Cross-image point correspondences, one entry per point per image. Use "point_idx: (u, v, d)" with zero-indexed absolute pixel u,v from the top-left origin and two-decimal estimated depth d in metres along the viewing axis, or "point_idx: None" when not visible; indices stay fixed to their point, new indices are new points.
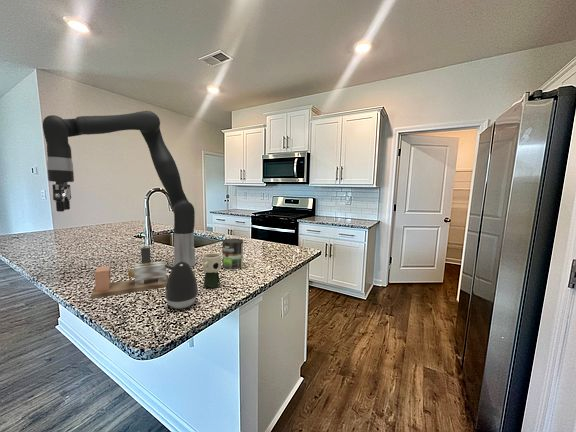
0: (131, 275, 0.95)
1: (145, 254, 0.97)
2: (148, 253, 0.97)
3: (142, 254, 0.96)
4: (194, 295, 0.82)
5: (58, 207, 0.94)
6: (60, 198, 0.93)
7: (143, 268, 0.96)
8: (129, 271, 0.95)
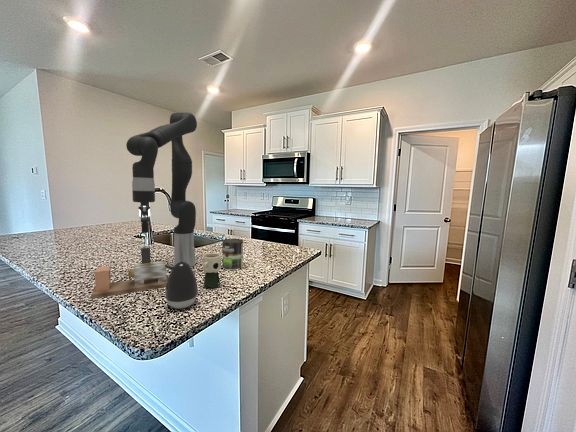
0: (131, 275, 0.95)
1: (145, 254, 0.97)
2: (148, 253, 0.97)
3: (142, 254, 0.96)
4: (194, 295, 0.82)
5: (144, 229, 0.92)
6: (147, 220, 0.91)
7: (143, 268, 0.96)
8: (129, 271, 0.95)
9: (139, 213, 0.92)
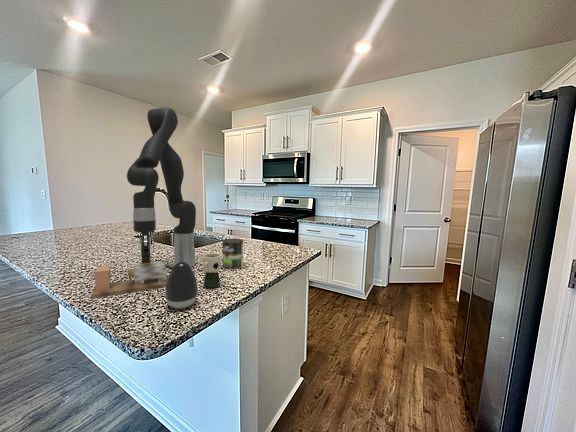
0: (131, 275, 0.95)
1: None
2: None
3: (142, 254, 0.96)
4: (194, 295, 0.82)
5: (145, 259, 0.96)
6: (148, 251, 0.95)
7: (143, 268, 0.96)
8: (129, 271, 0.95)
9: (140, 244, 0.95)
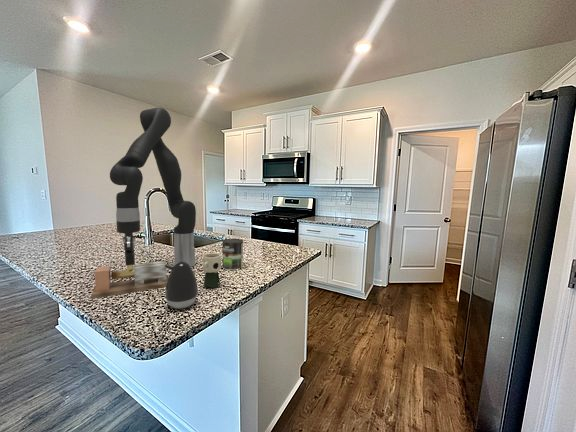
0: (114, 277, 0.92)
1: None
2: None
3: None
4: (194, 295, 0.82)
5: (128, 261, 0.93)
6: (131, 253, 0.92)
7: (143, 268, 0.96)
8: (112, 273, 0.92)
9: (124, 246, 0.92)
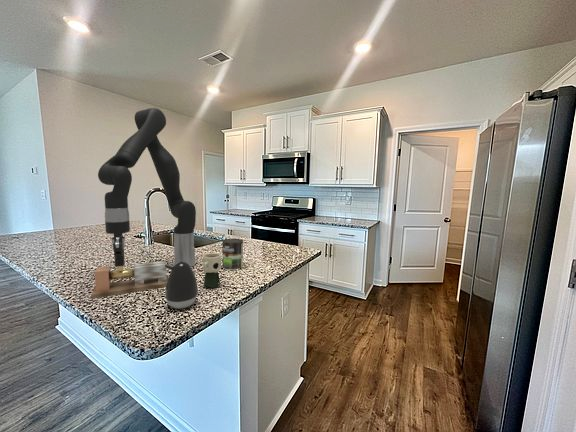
0: None
1: None
2: None
3: (115, 257, 0.92)
4: (194, 295, 0.82)
5: (118, 262, 0.91)
6: (121, 254, 0.90)
7: (143, 268, 0.96)
8: None
9: (113, 247, 0.90)
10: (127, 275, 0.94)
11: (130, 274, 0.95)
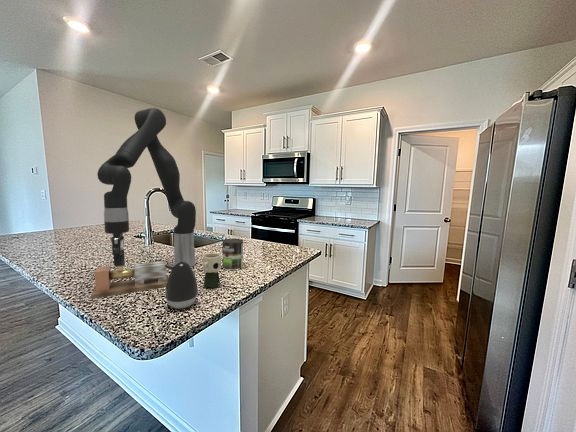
0: None
1: None
2: (122, 255, 0.93)
3: None
4: (194, 295, 0.82)
5: (116, 261, 0.89)
6: (119, 252, 0.87)
7: (143, 268, 0.96)
8: None
9: (111, 245, 0.89)
10: (127, 275, 0.94)
11: (130, 274, 0.95)
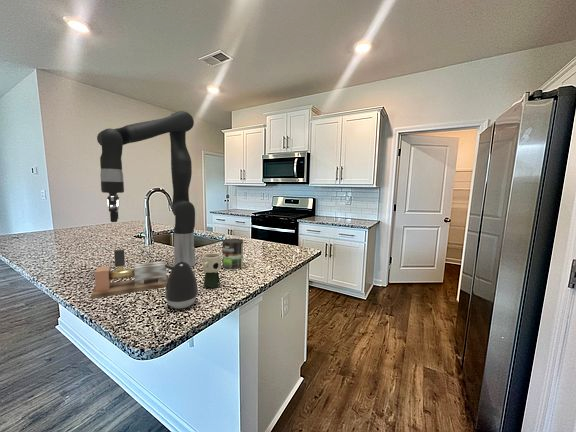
0: None
1: (119, 257, 0.93)
2: (122, 255, 0.93)
3: (115, 257, 0.92)
4: (194, 295, 0.82)
5: (112, 218, 0.96)
6: (115, 209, 0.95)
7: (143, 268, 0.96)
8: None
9: (108, 203, 0.96)
10: (127, 275, 0.94)
11: (130, 274, 0.95)
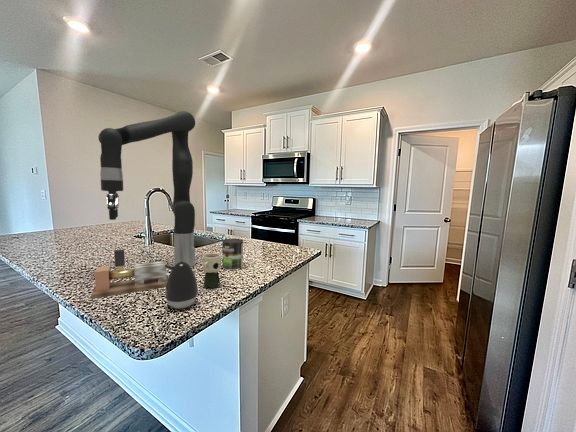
0: None
1: (119, 257, 0.93)
2: (122, 255, 0.93)
3: (115, 257, 0.92)
4: (194, 295, 0.82)
5: (111, 215, 0.98)
6: (114, 207, 0.97)
7: (143, 268, 0.96)
8: None
9: (107, 201, 0.98)
10: (127, 275, 0.94)
11: (130, 274, 0.95)
